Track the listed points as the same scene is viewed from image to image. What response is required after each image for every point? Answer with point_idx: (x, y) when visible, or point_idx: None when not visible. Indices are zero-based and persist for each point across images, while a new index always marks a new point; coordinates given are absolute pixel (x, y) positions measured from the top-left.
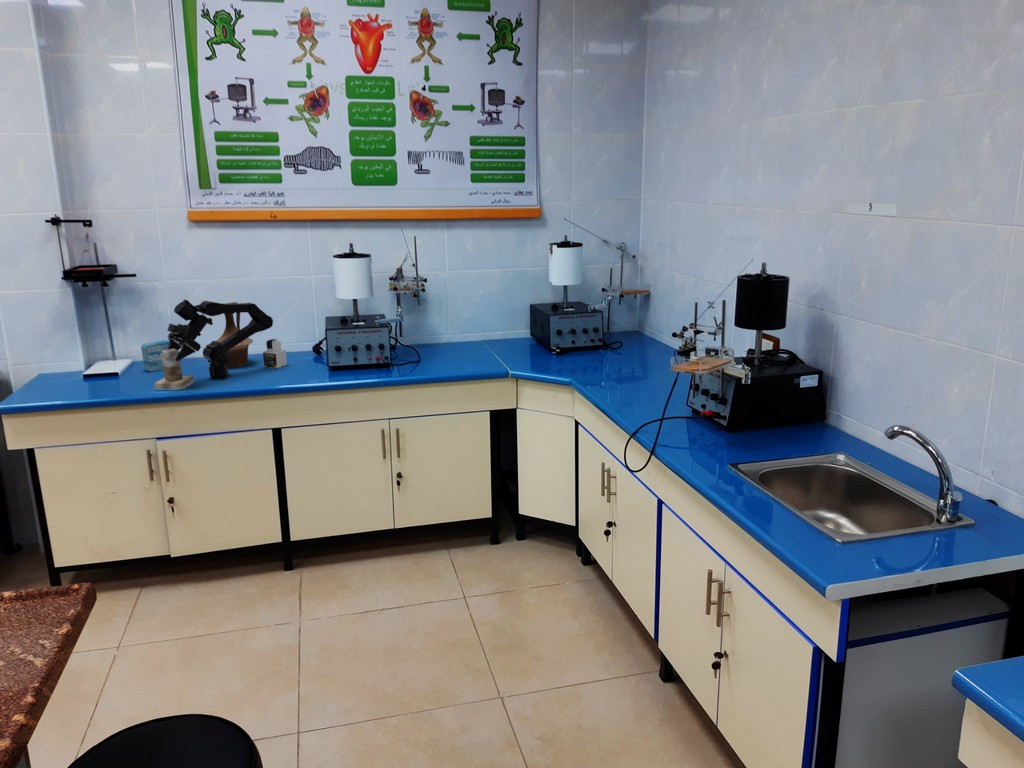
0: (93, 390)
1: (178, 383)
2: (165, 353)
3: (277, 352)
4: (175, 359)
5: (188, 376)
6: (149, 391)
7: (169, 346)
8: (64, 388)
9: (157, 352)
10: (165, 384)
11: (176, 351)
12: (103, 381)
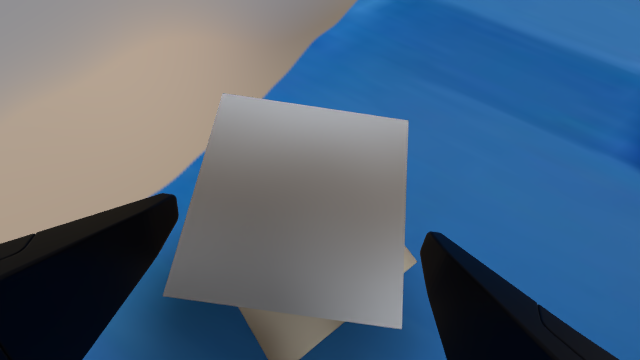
0: (513, 38)
1: None
2: (257, 106)
3: None
4: (166, 194)
5: (292, 344)
6: None
7: (555, 333)
8: (607, 7)
9: None
10: None
11: (178, 247)
12: (631, 114)
